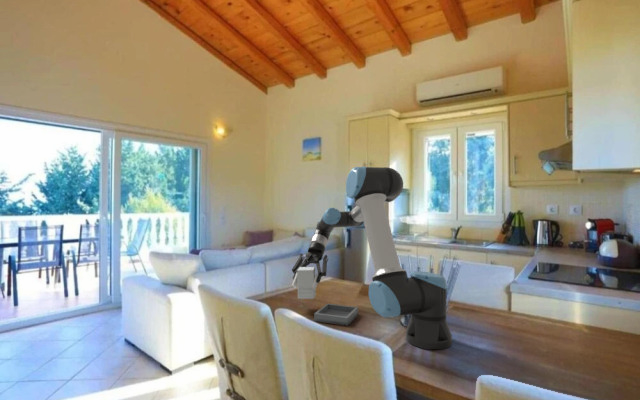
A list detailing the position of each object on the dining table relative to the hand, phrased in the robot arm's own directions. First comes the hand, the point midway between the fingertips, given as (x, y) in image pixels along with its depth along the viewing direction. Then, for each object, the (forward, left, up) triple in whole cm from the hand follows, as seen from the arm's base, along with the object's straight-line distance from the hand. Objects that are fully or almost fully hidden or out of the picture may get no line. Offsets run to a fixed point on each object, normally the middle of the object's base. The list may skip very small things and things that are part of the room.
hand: (303, 287), depth 149 cm
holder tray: (-16, +2, -10) cm, 19 cm away
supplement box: (0, -3, -5) cm, 6 cm away
